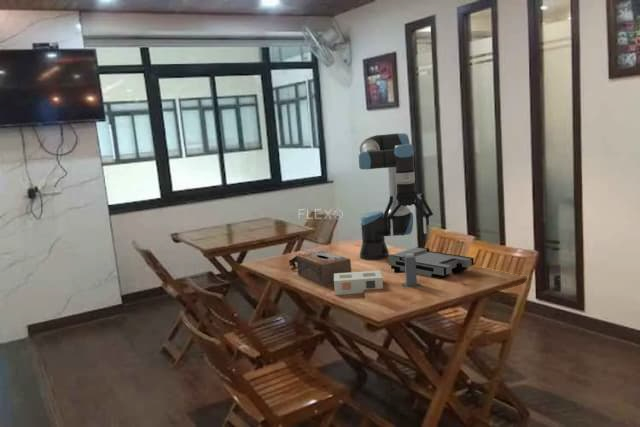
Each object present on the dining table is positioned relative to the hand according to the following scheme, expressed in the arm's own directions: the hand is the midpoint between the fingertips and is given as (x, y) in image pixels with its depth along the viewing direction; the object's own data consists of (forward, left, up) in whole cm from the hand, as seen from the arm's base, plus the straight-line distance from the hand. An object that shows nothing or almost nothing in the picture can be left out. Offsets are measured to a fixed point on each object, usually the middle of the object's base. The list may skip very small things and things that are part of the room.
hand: (408, 234), depth 228 cm
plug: (0, 0, -21) cm, 21 cm away
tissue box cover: (-27, -37, -23) cm, 51 cm away
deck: (0, 0, -23) cm, 23 cm away
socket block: (-4, -22, -23) cm, 32 cm away
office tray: (-23, +12, -24) cm, 35 cm away
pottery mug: (-49, -49, -23) cm, 73 cm away
